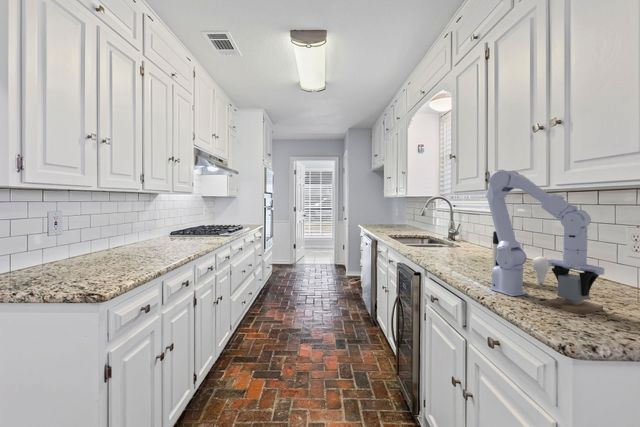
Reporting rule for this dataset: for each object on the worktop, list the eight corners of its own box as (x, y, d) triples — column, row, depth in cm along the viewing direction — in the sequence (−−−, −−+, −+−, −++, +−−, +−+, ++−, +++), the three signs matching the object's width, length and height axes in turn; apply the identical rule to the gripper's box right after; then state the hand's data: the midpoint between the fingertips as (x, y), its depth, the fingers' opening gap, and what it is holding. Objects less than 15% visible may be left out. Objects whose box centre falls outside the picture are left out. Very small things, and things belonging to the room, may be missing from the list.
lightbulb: (532, 281, 130) (533, 254, 129) (550, 283, 126) (551, 256, 125) (530, 284, 125) (531, 256, 125) (549, 287, 121) (550, 258, 121)
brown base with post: (544, 304, 101) (545, 285, 101) (566, 300, 105) (567, 282, 105) (580, 314, 92) (580, 294, 92) (602, 309, 96) (603, 290, 96)
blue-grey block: (557, 296, 100) (558, 275, 99) (569, 293, 102) (569, 273, 102) (577, 301, 95) (578, 279, 94) (589, 299, 97) (589, 277, 96)
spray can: (493, 280, 132) (495, 232, 131) (490, 276, 138) (491, 230, 137) (512, 281, 130) (513, 232, 129) (507, 277, 136) (508, 231, 136)
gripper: (542, 246, 103) (541, 288, 104) (594, 253, 89) (592, 301, 90) (556, 245, 106) (555, 286, 106) (609, 252, 92) (607, 298, 93)
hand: (573, 292), depth 98 cm, fingers closed on blue-grey block, 5 cm apart
